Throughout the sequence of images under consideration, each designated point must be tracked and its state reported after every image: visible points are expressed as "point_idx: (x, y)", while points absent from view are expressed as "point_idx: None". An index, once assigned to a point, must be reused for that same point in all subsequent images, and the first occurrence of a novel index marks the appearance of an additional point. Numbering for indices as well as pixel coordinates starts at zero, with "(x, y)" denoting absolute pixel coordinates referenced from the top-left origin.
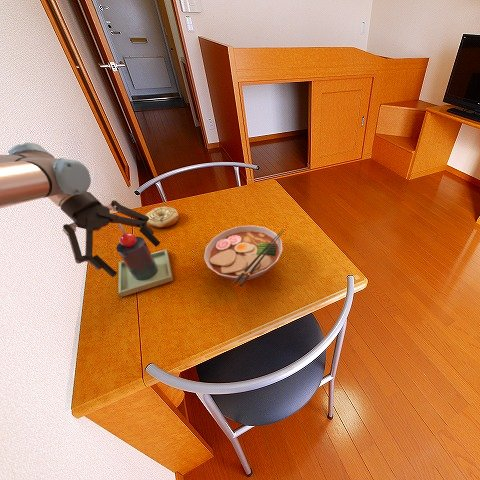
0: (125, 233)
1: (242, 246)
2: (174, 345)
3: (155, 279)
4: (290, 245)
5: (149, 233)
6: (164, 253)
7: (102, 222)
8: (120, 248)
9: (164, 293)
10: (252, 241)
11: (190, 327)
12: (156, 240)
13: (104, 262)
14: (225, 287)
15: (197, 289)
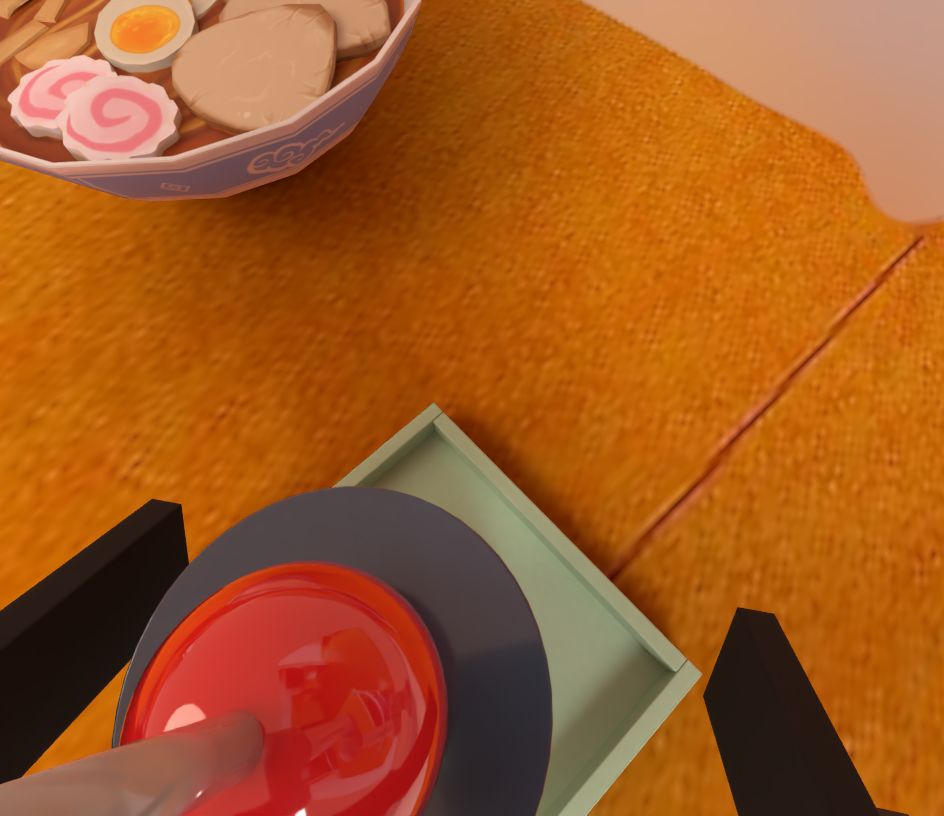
0: (214, 712)
1: (137, 26)
2: (775, 181)
3: (468, 523)
4: None
5: (14, 620)
6: None
7: None
8: (467, 805)
9: (545, 402)
10: (78, 21)
11: (672, 172)
12: (133, 528)
13: (832, 803)
14: (409, 151)
15: (459, 256)
